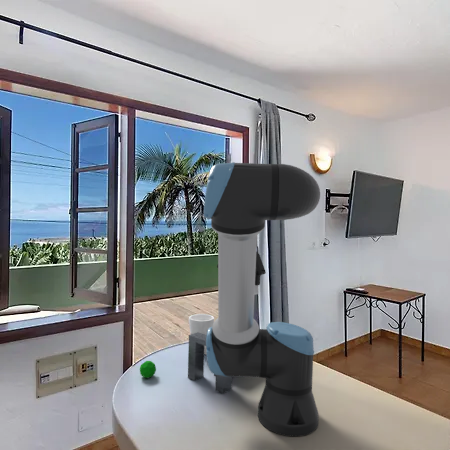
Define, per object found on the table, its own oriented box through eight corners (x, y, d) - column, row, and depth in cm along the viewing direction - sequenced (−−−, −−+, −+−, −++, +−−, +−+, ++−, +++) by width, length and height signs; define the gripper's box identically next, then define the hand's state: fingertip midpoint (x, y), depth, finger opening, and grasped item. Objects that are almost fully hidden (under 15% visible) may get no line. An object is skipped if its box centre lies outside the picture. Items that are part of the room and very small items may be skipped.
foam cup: (191, 346, 134) (192, 313, 134) (214, 348, 133) (215, 314, 133) (185, 355, 125) (186, 320, 124) (210, 357, 123) (211, 321, 123)
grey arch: (231, 388, 101) (233, 343, 101) (223, 394, 98) (224, 347, 98) (196, 373, 111) (197, 332, 110) (187, 377, 107) (188, 335, 107)
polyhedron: (138, 374, 109) (138, 359, 109) (153, 372, 111) (154, 357, 111) (141, 381, 104) (141, 366, 104) (157, 379, 106) (157, 363, 106)
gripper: (276, 232, 115) (275, 295, 115) (222, 229, 132) (221, 284, 132) (263, 233, 110) (261, 299, 110) (208, 230, 126) (207, 287, 127)
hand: (239, 291), depth 121 cm, fingers open, 13 cm apart
